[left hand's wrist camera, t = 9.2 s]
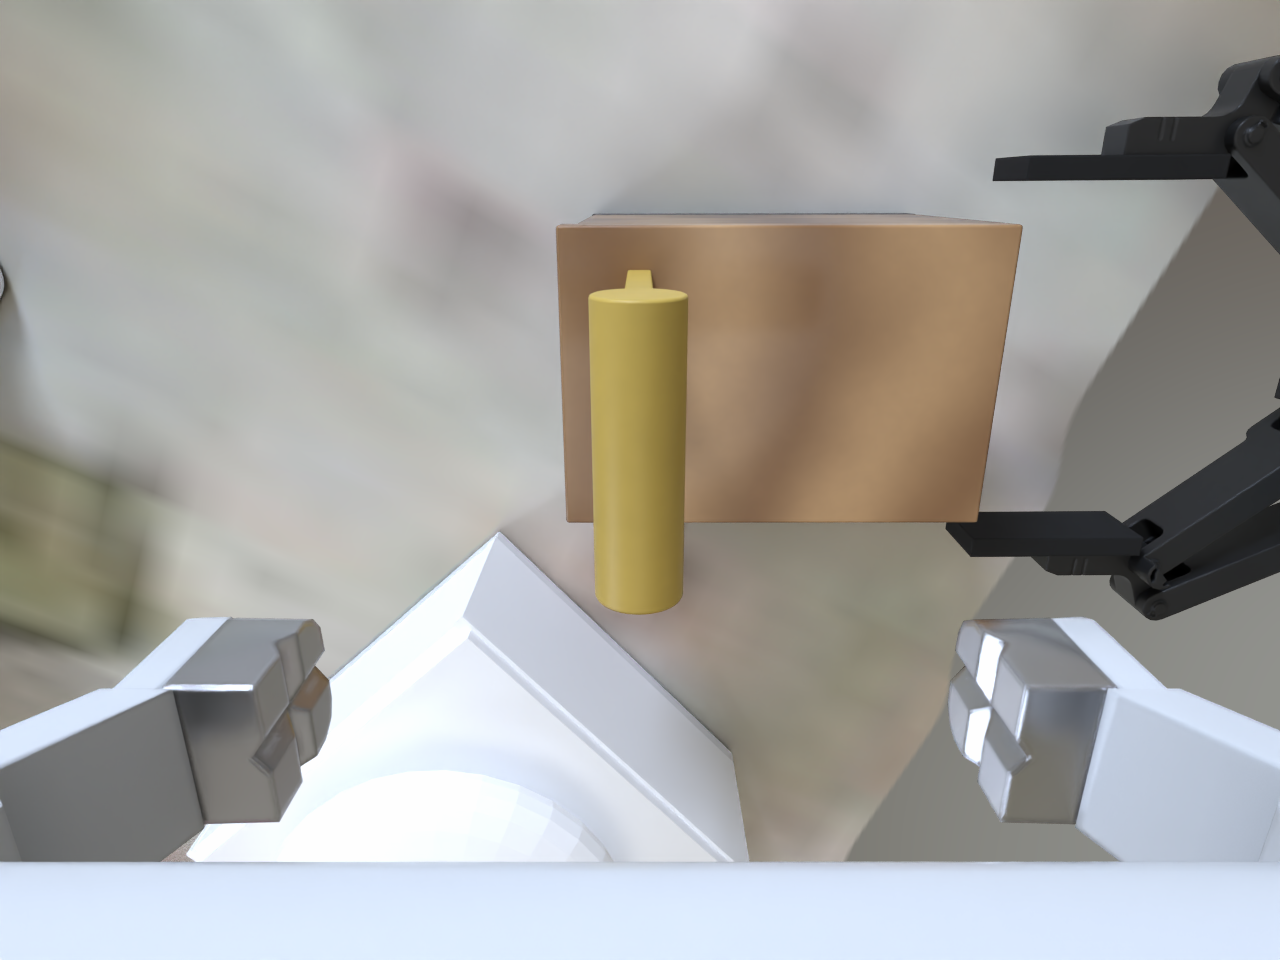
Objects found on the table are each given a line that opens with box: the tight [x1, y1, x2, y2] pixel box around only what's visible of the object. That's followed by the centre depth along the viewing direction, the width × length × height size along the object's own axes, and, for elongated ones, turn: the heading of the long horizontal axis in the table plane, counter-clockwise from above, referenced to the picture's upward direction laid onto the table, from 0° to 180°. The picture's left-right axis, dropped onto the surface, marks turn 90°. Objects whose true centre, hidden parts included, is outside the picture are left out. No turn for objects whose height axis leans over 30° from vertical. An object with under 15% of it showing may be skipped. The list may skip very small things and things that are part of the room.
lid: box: [556, 223, 1022, 615], centre depth 22 cm, size 14×9×9 cm
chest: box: [578, 213, 1000, 224], centre depth 30 cm, size 13×9×10 cm
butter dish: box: [186, 531, 749, 862], centre depth 35 cm, size 18×18×16 cm
